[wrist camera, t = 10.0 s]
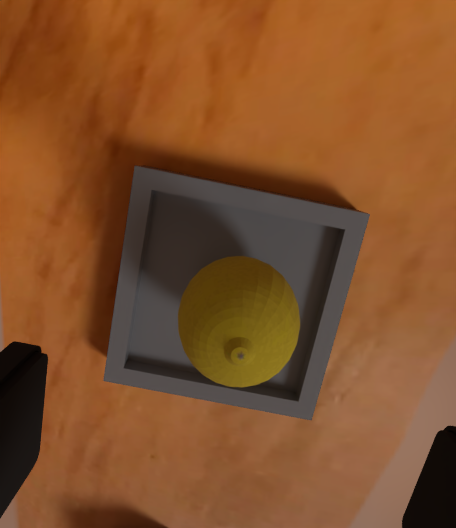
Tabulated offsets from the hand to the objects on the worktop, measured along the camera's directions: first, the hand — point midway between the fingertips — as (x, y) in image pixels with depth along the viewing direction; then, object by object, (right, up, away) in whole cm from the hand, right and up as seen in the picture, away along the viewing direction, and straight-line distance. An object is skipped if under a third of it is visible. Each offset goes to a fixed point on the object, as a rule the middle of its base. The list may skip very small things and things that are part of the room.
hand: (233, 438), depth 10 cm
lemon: (0, +3, +13) cm, 14 cm away
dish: (0, +3, +14) cm, 15 cm away
